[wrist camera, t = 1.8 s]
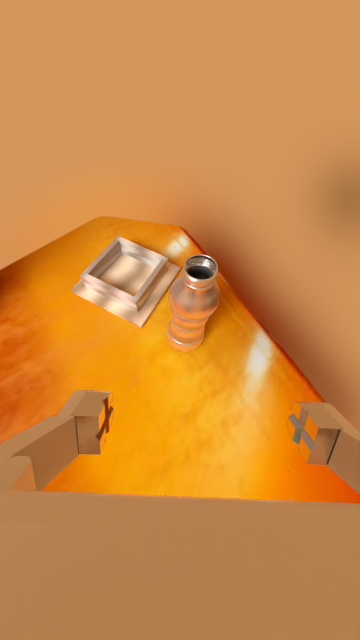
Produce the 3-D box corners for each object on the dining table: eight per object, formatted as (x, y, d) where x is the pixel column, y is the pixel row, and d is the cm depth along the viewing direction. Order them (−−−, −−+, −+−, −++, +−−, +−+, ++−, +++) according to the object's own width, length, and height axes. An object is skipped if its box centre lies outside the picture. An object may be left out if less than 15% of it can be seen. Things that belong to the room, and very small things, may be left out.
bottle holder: (72, 292, 43) (63, 278, 39) (119, 242, 50) (115, 226, 46) (141, 328, 41) (139, 317, 37) (180, 270, 48) (182, 255, 44)
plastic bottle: (160, 331, 41) (157, 255, 23) (191, 317, 42) (211, 237, 25) (176, 361, 38) (187, 302, 20) (208, 345, 40) (244, 278, 22)
